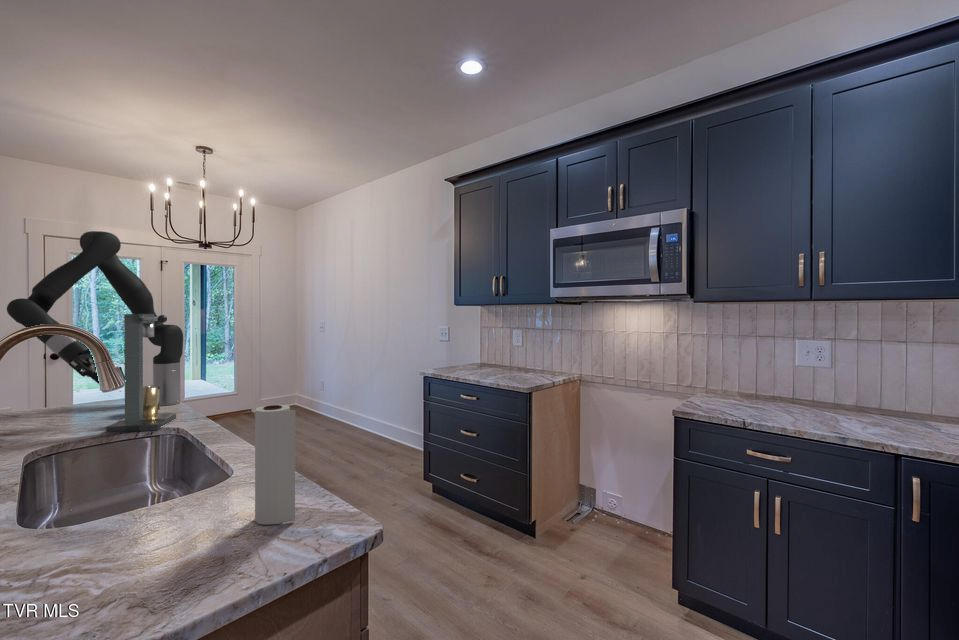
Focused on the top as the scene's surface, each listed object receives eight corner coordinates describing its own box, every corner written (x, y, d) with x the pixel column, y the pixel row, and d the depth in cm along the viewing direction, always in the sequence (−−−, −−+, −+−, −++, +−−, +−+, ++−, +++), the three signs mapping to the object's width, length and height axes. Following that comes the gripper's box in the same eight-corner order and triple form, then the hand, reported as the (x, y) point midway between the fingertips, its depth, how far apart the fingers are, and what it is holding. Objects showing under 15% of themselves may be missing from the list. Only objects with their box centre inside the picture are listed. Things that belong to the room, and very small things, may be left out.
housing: (142, 415, 152) (142, 385, 152) (160, 414, 153) (160, 384, 153) (134, 418, 147) (134, 387, 146) (153, 417, 148) (153, 387, 148)
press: (130, 421, 152) (129, 313, 151) (183, 418, 156) (183, 314, 156) (106, 433, 137) (105, 314, 137) (165, 429, 142) (165, 314, 141)
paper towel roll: (252, 516, 83) (252, 405, 83) (285, 508, 87) (285, 402, 86) (259, 531, 77) (259, 413, 77) (295, 522, 81) (295, 408, 81)
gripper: (64, 340, 137) (108, 375, 141) (91, 337, 151) (130, 369, 154) (44, 357, 136) (88, 392, 139) (73, 353, 150) (112, 384, 153)
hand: (110, 380), depth 147 cm, fingers open, 8 cm apart
